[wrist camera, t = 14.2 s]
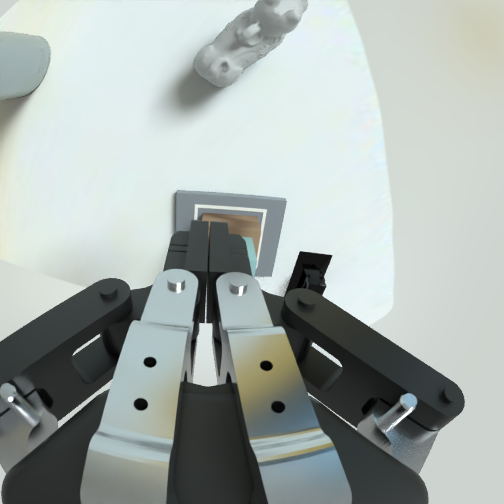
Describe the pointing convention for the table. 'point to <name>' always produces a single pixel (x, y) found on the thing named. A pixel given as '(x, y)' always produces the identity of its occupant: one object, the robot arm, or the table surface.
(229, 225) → the walnut block
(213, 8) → the table surface
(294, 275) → the black stepped block
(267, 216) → the board
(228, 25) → the dog figurine
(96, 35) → the table surface
